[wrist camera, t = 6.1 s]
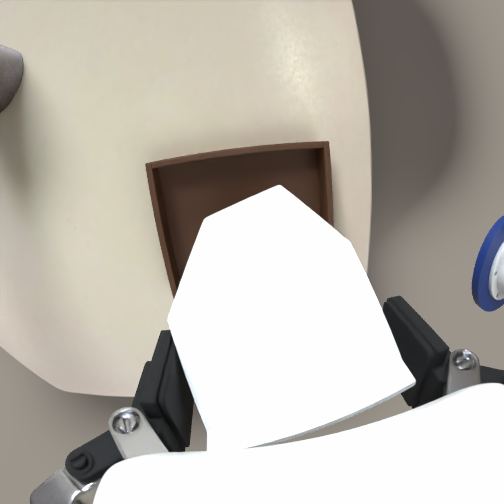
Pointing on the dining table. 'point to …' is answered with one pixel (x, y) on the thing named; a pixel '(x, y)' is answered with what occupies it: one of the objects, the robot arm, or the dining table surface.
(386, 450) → the robot arm
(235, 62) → the dining table surface
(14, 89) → the pillar candle
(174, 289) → the tray
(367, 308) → the milk carton
